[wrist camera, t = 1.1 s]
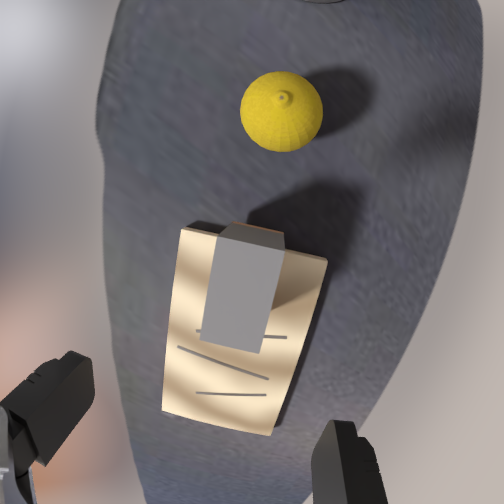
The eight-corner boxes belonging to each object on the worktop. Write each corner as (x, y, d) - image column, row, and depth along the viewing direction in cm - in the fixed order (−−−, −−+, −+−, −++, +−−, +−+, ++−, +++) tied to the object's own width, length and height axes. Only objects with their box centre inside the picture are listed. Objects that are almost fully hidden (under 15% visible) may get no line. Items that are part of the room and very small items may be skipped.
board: (185, 226, 26) (181, 229, 25) (325, 258, 26) (328, 261, 24) (165, 403, 31) (161, 410, 30) (270, 428, 30) (270, 436, 29)
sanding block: (233, 221, 24) (217, 236, 18) (283, 232, 24) (285, 251, 18) (217, 302, 26) (199, 339, 20) (264, 313, 26) (259, 354, 19)
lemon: (269, 79, 23) (265, 39, 15) (328, 114, 23) (349, 86, 15) (233, 133, 24) (213, 113, 16) (292, 169, 24) (298, 164, 16)
